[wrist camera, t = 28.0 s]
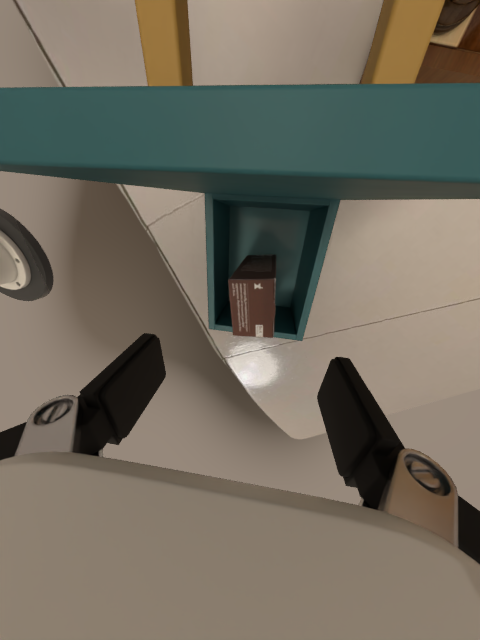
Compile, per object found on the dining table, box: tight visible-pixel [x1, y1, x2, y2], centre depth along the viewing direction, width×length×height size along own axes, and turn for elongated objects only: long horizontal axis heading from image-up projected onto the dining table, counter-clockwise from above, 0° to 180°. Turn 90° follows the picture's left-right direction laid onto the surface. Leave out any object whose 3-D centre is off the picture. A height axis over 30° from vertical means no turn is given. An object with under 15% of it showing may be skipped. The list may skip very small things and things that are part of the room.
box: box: [228, 254, 276, 338], centre depth 22 cm, size 6×4×12 cm
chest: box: [205, 193, 340, 341], centre depth 23 cm, size 15×12×9 cm
